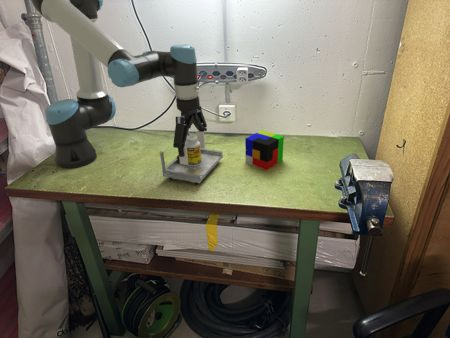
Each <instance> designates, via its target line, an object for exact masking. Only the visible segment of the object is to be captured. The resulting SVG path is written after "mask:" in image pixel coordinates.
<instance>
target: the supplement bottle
mask: <svg viewBox="0 0 450 338" xmlns="http://www.w3.org/2000/svg"><path fill="white" fill-rule="evenodd" d="M185 146H186V149H187V158H188V166H198V165H200V164H201V149H200V142H199V141H198V139H197V135H191V134H190V136H188V135H187V138H186V142H185Z"/></svg>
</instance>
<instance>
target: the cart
mask: <svg viewBox="0 0 450 338" xmlns="http://www.w3.org/2000/svg"><path fill="white" fill-rule="evenodd" d="M187 136H191V130H188V134H187ZM200 149H201V164H200V165H198V166H188V165H184V164H180V162H179V160H178V158H177V157H176V158H174V159H173V160H172V161H171V162H170V163H168V164H167V165H166V162H165V156H164V151H160V152H159V155H160V157H159V158H160V162H161V173H162V177H164V178H168V179H169V180H170V181H173V180H180V181H186V182H191V183H193V184H194V185H196V186H198V185H199V184H200V183H201V182H203V180H204V179H205V178H206V176H208V174H209V173H210V172H211V171H212V170H213V169H214V168H215V166H217V164H218V163H219V162H220V161H221V160H222V159H223V158H224V155H223V150H216V149H209V148H205V149H203V148H200Z"/></svg>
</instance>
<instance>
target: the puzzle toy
mask: <svg viewBox="0 0 450 338" xmlns="http://www.w3.org/2000/svg"><path fill="white" fill-rule="evenodd" d="M244 139H245V163H246V164H249V165H252V166H255V167H258V168H260V169H263V170H265V171H269V170H270V169H271V168H273V167H274V166H276V165H278V164H279V163H281V162H282V161H283V157H284V156H283V155H284V144H285V143H284V140H285V136H284V135H280V134H276V133H273V132H270V131H266V130H260V131H258V132H255V133H254V134H251V135H249V136H248V137H245V138H244Z"/></svg>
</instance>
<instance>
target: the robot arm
mask: <svg viewBox="0 0 450 338" xmlns="http://www.w3.org/2000/svg"><path fill="white" fill-rule="evenodd" d="M30 1H31V4H32V6H33V7H34V9H35V10H36V12H37V13H38V14H40V15H41V17H43V18H44V19H45V20H46V21H48V22H50V23H55V24H56V25H57V26H58V27H59V28H61V29H62V30H63V31H64V32H65V33H66V34H68V35H69V37H70V43H71V48H72V54H73V59H74V65H75V70H76V77H77V82H78V87H79V89H78V90H77V92H76V93H75V94H76V99H77V100H76V99H74V98H68V99H67V98H66V99H62V100H58V101H55V102H53V103H51V104H49V105H48V106H47V107H46V108H45V110H44V114H45V119H46V120H45V121H46V123H47V125H48V128H49V131H50V133H51V137H52V139H53V141H54V145H55V158H54V159H55V160H54V161H55V163H56V166H57V167H58V168H60V169H77V168H80V167H84V166H87V165H88V164H91V163H93V162H94V161H95V160H96V159H97V157H98V155H97V152H96V151H97V150H96V149H95V147H94V146H93V145H92V144H91V142H90V140H89V139H88V136H87V132H86V131H87V130H90V129H93V128H95V127H98V126H100V125H103V124H106V123H108V122H110V121H111V120H113V118H114V117H115V115H116V112H117V107H116V102H115V101H114V98H113V97H112V96H111V95H110V94H109V93H108V91H107V90H106V89H105V88H104V87H103V86H104V85H103V81H102V80H103V79H102V70H101V64H102V65H103V66H104V67H105V68H107V76H108V79H110V80H111V82H112V84H113V85H114V86H116V87H118V88H125V87H132V86H135V85H137V84H141V83H142V82H146V81H149V80H153V79H157V78H159V77H169V78H173V85H174V96H175V97H176V98H175V102H176V108H177V110H179V112H180V116H175V128H174V137H173V145H172V147H173V148H174V149H175V148H176V149H177V152H178V155H179V159H180V164H184V165H188V158H187V149H186V146H185V142H186V138H187V136H188V135H187V134H188V131H190V129H191V127H192V125H194V127H195V129H197V130H196V136H197V139H198V141H199V142H200V148H203V149H206V141H205V140H206V137H205V132H207V130H208V128H207V127H208V124H207V121H206V120H205V115H204V114H203V110H202V105H200V96H199V93H200V92H199V89H200V87H199V83H198V82H199V81H198V69H197V62H198V61H197V56H196V49H195V46H193V45H192V44H175V45H171V46H170V51H162V50H161V51H159V50H149V51H148V50H146V51H144V52H143V53H142V54H139V55H132V54H131V53H130V52H129V51H127V50H126V49H125V48H124V47H123V46H121V44H119V43H118V42H117V41H115V39H113V38H112V37H111V36H110V35H109V34H107V32H105V31H104V30H103V29H102V28H100V27H99V26H98V25H97V24H96V22H97V20H98V19H99V18H98V12H99V11H100V10H101V9H102V6H103V4H104V0H30Z"/></svg>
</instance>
